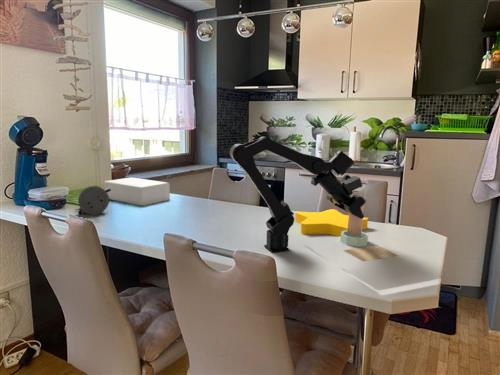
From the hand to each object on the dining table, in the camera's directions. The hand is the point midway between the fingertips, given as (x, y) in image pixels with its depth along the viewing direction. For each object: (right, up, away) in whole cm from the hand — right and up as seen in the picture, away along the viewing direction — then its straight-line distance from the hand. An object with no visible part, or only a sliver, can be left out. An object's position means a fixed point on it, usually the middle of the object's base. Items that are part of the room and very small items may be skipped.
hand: (359, 215), depth 126 cm
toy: (-110, -2, +41) cm, 117 cm away
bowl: (-1, -10, +2) cm, 10 cm away
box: (-100, +3, +70) cm, 122 cm away
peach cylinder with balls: (-1, -6, +1) cm, 6 cm away
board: (+1, -12, -9) cm, 15 cm away
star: (-5, -7, +22) cm, 23 cm away
